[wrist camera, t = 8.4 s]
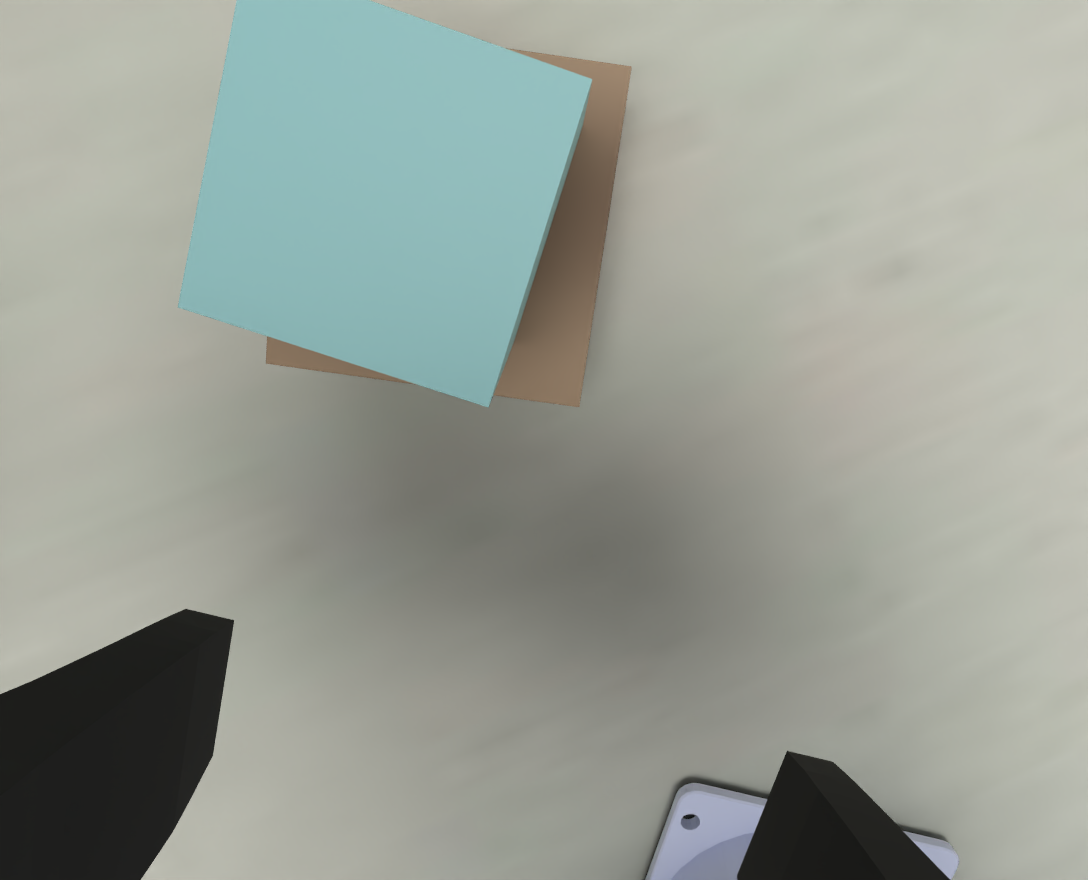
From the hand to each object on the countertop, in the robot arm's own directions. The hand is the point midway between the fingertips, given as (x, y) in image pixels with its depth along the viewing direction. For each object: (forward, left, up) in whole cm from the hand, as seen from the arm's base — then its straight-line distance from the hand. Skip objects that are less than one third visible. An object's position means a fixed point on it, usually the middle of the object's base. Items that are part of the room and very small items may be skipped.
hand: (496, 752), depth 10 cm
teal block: (+6, +3, -6) cm, 9 cm away
